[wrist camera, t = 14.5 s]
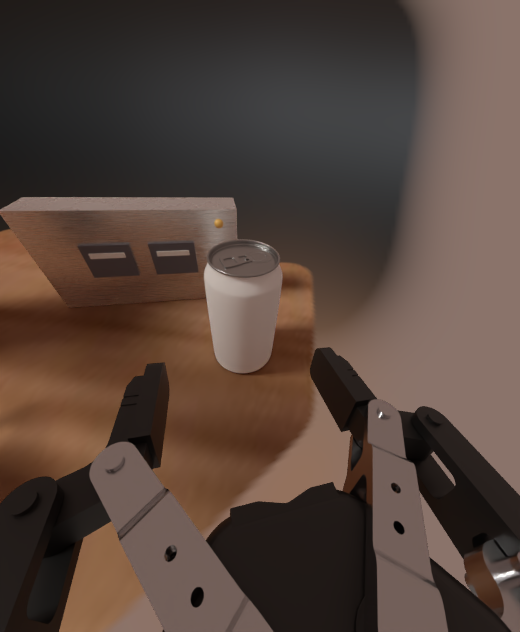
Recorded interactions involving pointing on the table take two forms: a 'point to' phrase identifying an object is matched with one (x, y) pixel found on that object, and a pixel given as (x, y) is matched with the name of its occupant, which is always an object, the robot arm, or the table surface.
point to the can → (243, 302)
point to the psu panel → (122, 245)
